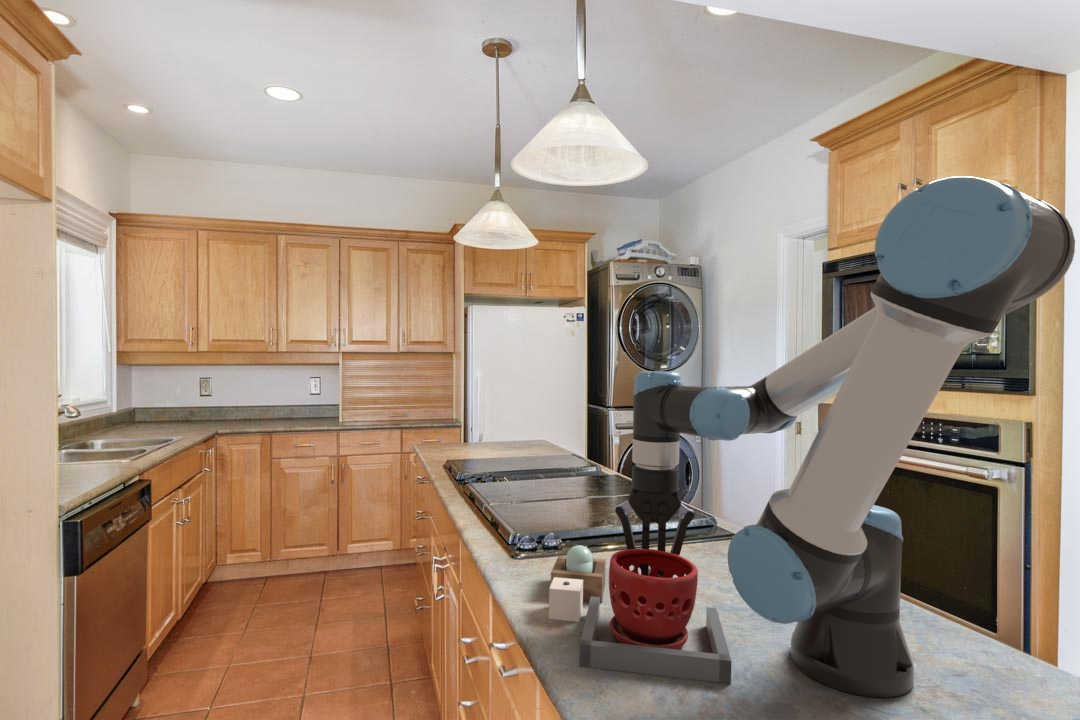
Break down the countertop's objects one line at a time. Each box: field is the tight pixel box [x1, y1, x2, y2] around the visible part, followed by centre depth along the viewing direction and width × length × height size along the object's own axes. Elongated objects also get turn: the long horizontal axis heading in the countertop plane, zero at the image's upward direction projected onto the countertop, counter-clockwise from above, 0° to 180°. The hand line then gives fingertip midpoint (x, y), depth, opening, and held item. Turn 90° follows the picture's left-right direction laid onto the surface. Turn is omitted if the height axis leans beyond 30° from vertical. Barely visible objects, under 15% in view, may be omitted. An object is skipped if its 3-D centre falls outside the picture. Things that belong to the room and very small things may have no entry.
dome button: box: [566, 544, 593, 573], centre depth 106 cm, size 5×5×7 cm
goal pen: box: [578, 596, 732, 685], centre depth 86 cm, size 20×16×3 cm
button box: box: [550, 555, 607, 604], centre depth 106 cm, size 9×9×4 cm
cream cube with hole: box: [548, 577, 584, 623], centre depth 97 cm, size 5×5×5 cm
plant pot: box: [608, 548, 699, 650], centre depth 88 cm, size 13×13×12 cm
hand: (651, 608), depth 96 cm, fingers closed
